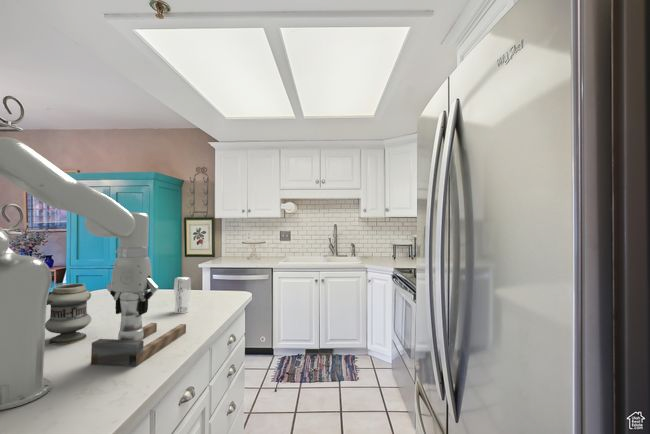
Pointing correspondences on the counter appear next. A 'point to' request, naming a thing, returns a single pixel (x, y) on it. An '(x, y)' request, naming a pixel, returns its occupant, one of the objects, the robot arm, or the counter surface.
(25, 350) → the robot arm
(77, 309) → the apothecary jar
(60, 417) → the counter surface
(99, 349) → the guide track
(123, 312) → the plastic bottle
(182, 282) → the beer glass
